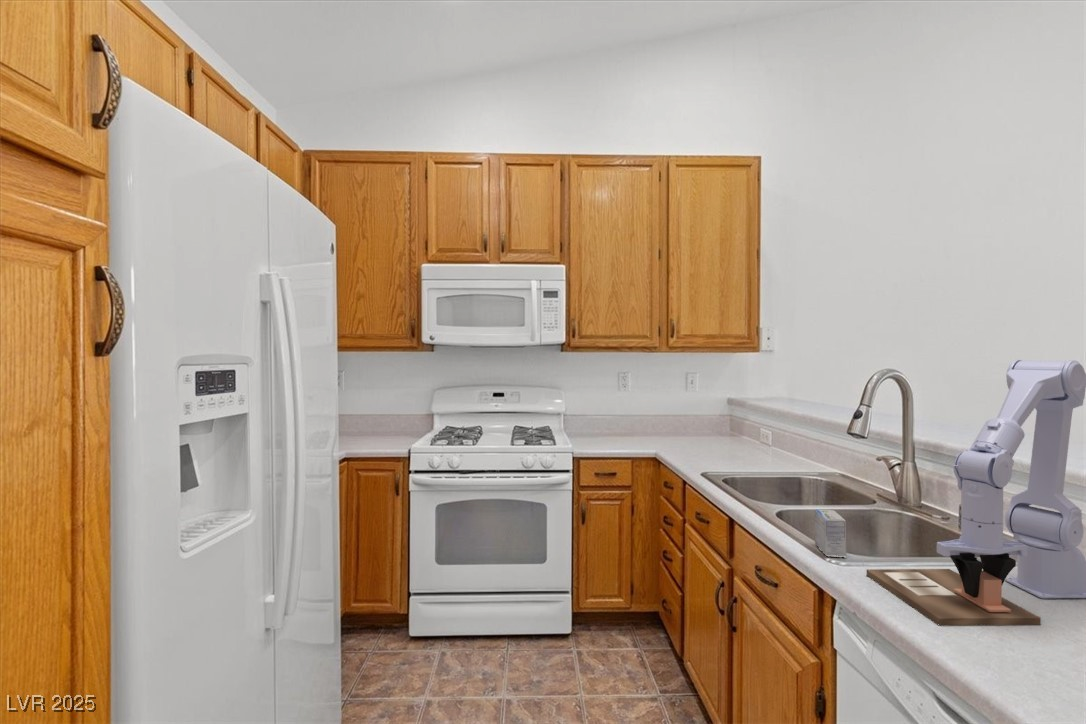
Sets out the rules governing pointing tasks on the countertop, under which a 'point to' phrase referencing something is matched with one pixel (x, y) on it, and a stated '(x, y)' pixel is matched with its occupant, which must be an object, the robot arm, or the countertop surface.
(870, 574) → the ticket board
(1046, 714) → the countertop surface
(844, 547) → the medicine box
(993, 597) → the salmon block with base
